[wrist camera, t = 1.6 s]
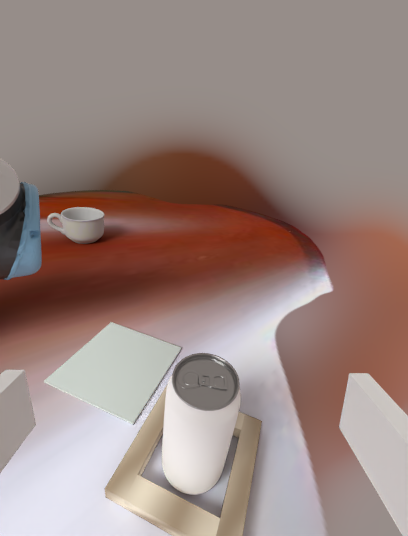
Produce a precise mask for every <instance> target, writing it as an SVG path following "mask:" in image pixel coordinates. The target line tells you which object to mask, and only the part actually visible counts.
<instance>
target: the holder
mask: <svg viewBox="0 0 408 536" xmlns="http://www.w3.org/2000/svg"><path fill="white" fill-rule="evenodd" d="M167 385H168V384H167ZM166 389H167V386H166V387H165V389H164V391H163V392H162V394H161V396H160V397H159V399H158V401H157V402H156V404H155V406H154V407H153V409H152V411H151V412H150V414H149V416H148V417H147V419H146V421H145V422H144V424H143V426H142V427H141V429H140V431H139V432H138V434H137V436H136V438H135V439H134V441H133V443H132V444H131V446H130V448H129V449H128V451H127V453H126V454H125V456H124V458H123V459H122V461H121V463H120V464H119V466H118V468H117V469H116V471H115V473H114V474H113V476H112V478H111V479H110V481H109V483H108V484H107V486H106V488H105V495H106V498H108V499H110V500H112V501H113V502H115V503H117V504H119V505H120V506H122V507H124V508H125V509H127V510H129V511H131V512H132V513H134V514H136V515H138V516H139V517H141V518H143V519H145V520H146V521H148V522H150V523H152V524H153V525H155V526H157V527H158V528H160V529H162V530H164V531H165V532H167V533H169V534H171V535H172V536H243V530H244V524H245V518H246V512H247V506H248V500H249V495H250V489H251V483H252V477H253V471H254V465H255V459H256V453H257V447H258V441H259V435H260V429H261V423H262V421H261V420H258V419H256V418H253V417H251V416H248V415H246V414H243V413H241V412H239V413H238V416H237V420H236V424H235V428H234V432H233V436H235V437H238V438H239V439H238V444H237V448H236V452H235V456H234V460H233V465H232V469H231V473H230V477H229V481H228V485H227V490H226V494H225V498H224V502H223V506H222V511H221V515H220V518H219V517H217V516H215V515H213V514H211V513H209V512H207V511H205V510H204V509H202V508H200V507H198V506H196V505H194V504H192V503H190V502H188V501H186V500H185V499H183V498H181V497H179V496H177V495H175V494H173V493H171V492H169V491H168V490H166V489H164V488H162V487H160V486H158V485H156V484H154V483H152V482H151V481H149V480H147V479H145V478H143V477H141V475H142V473H143V471H144V470H145V468H146V466H147V464H148V462H149V460H150V458H151V456H152V454H153V452H154V450H155V448H156V446H157V444H158V442H159V440H160V438H161V436H162V434H163V426H164V411H165V398H166Z"/></svg>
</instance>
